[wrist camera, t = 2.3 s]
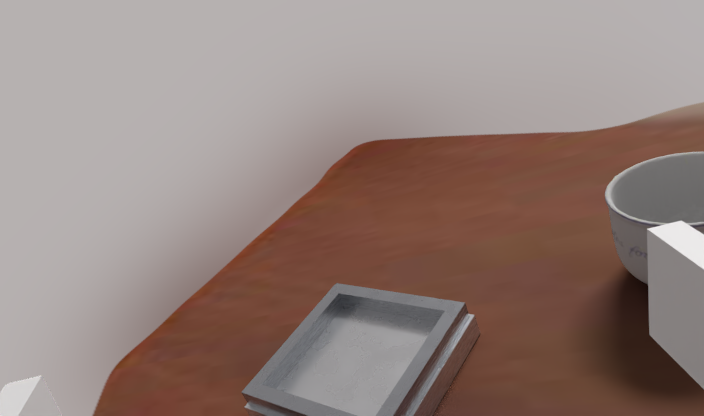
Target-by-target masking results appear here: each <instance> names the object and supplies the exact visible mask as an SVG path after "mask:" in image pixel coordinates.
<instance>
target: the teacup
mask: <svg viewBox="0 0 704 416" xmlns="http://www.w3.org/2000/svg"><path fill="white" fill-rule="evenodd" d="M605 200H606V203H607V205H608V207H609V214H610V220H611V226H612V232H613V237H614V242H615V246H616V249H617V253H618V255H619V258H620V260H621V262H622V263H623V265H624V266H625V268H626V269H627V270H628V271H629V272H630V273H631V274H632V275H633V276H634V277H636V278H637V279H639V280H640V281H642V282H644V283H646V284H648V252H647V229H648V228H653V227H657V226H661V225H665V224H669V223H673V222H677V221H681V220H682V221H683V222H685V223H686V224H688V225H690V226H691V227H693V228H694V229H696V230H697V231H699V232H701V233H702V234H704V152H689V153H679V154H672V155H666V156H662V157H657V158H654V159H650V160H647V161H644V162H642V163H639V164H636V165H634V166H632V167H631V168H629V169H626V170H625V171H623V172H622V173H620V174H618V175H617V176H615V177H614V179H613V180H612V181H611V182H610V183H609V185H608V186H607V189H606V192H605Z"/></svg>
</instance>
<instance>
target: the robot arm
mask: <svg viewBox="0 0 704 416" xmlns="http://www.w3.org/2000/svg"><path fill="white" fill-rule="evenodd" d="M647 252H648V299H649V335H650V336H651V337H652V338H653V339H654V340H655V341H656V342H657V343H658V344H659V345H660V346H661V347H662V348H663V349H664V350H665V351H666V352H667V353H668V354H669V355H670V356H671V357H672V358H673V359H674V360H675V361H676V362H677V363H678V364H679V365H680V366H681V367H682V368H683V369H684V370H685V371H686V372H687V373H688V374H689V375H690V376H691V377H692V378H693V379H694V380H695V381H696V382H697V383H698V384H699V385H700V386H701V387H702V388H703V389H704V234H702V233H701V232H699V231H697V230H696V229H694V228H693V227H691V226H690V225H688V224H686V223H685V222H683V221H682V220H681V221H677V222H673V223H669V224H665V225H661V226H657V227H653V228H648V229H647ZM0 416H63V415H62V413H61V411H60V409H59V407H58V405H57V403H56V401H55V399H54V398H53V395H52V394H51V392H50V390H49V388H48V386H47V384H46V382H45V380H44V378H43V376H42V375H41V376H37V377H32V378H28V379H25V380H20V381H16V382H12V383H8V384H6V385H5V386H4V388H3V389H2V391H1V392H0Z"/></svg>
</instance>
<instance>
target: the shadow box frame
mask: <svg viewBox="0 0 704 416" xmlns="http://www.w3.org/2000/svg"><path fill="white" fill-rule="evenodd" d="M479 335H480V330H479V327H478V324H477V321H476V318H475V315H472V314H469V313H468V310H467V307H466V304H465V303H463V302H456V301H450V300H443V299H437V298H430V297H423V296H417V295H410V294H404V293H397V292H391V291H384V290H377V289H371V288H364V287H358V286H351V285H344V284H338V283H336V284H335V285H334V286H333V287H332V289H331V290H330V291H329V292H328V293H327V294H326V295H325V297H324V298H323V299H322V300H321V301H320V302H319V303H318V305H317V306H316V307H315V308H314V309H313V310H312V312H311V313H310V314H309V315H308V316H307V317H306V318H305V320H304V321H303V322H302V323H301V324H300V325H299V327H298V328H297V329H296V330H295V331H294V332H293V333H292V335H291V336H290V337H289V338H288V339H287V340H286V342H285V343H284V344H283V345H282V346H281V347H280V348H279V350H278V351H277V352H276V353H275V354H274V355H273V356H272V358H271V359H270V360H269V361H268V362H267V363H266V365H265V366H264V367H263V368H262V369H261V370H260V371H259V373H258V374H257V375H256V376H255V377H254V378H253V380H252V381H251V382H250V383H249V384H248V385H247V386H246V388H245V389H244V390H243V391H242V394H243V396H244V397H245V399H246V401H247V402H248V403H247V405H246V406H245V409H246V411H247V412H248V414H249V416H433V414H434V412H435V410H436V409H437V407H438V405H439V404H440V402H441V400H442V398H443V397H444V395H445V393H446V392H447V390H448V388H449V387H450V385H451V383H452V381H453V380H454V378H455V376H456V375H457V373H458V371H459V369H460V368H461V366H462V364H463V363H464V361H465V359H466V357H467V356H468V354H469V352H470V351H471V349H472V347H473V345H474V344H475V342H476V340H477V339H478V337H479Z"/></svg>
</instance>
